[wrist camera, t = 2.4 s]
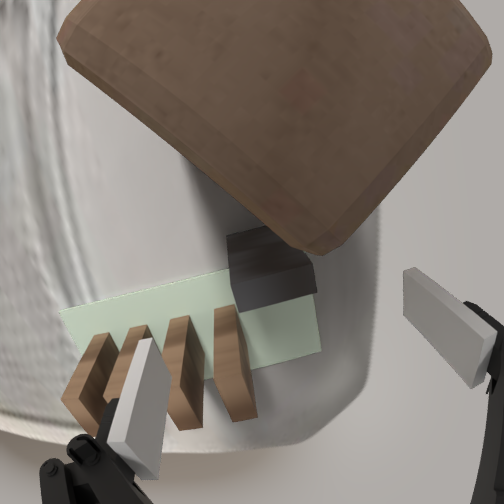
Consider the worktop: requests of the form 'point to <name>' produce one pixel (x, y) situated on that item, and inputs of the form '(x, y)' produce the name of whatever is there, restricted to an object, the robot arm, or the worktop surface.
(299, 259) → the dark gray domino
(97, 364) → the domino end
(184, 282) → the mat
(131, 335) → the domino
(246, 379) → the domino
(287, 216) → the block
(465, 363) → the robot arm
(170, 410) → the domino
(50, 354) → the worktop surface
